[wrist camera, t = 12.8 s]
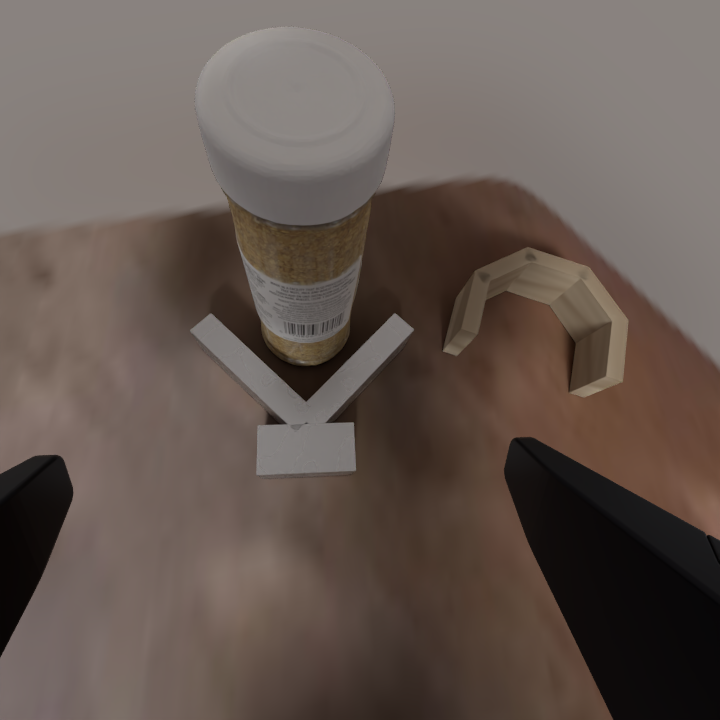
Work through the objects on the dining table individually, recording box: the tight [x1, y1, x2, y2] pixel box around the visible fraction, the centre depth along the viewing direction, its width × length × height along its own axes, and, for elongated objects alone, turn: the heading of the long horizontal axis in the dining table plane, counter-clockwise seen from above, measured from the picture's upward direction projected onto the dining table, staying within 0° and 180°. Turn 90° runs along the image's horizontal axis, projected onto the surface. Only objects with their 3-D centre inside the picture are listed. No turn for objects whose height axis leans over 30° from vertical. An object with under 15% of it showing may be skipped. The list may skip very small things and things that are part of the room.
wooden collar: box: [443, 247, 628, 397], centre depth 22 cm, size 6×8×3 cm
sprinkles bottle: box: [195, 27, 395, 366], centre depth 16 cm, size 5×5×14 cm
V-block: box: [190, 313, 414, 479], centre depth 20 cm, size 7×10×2 cm
